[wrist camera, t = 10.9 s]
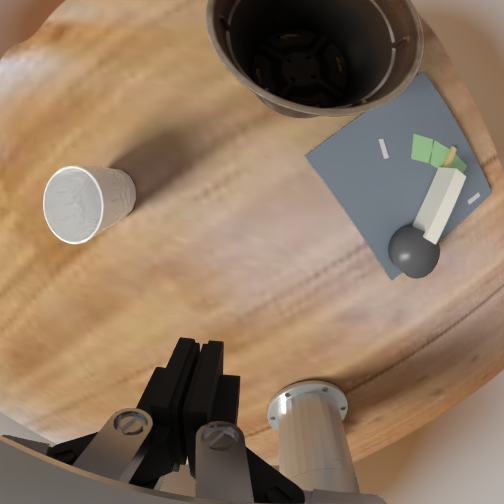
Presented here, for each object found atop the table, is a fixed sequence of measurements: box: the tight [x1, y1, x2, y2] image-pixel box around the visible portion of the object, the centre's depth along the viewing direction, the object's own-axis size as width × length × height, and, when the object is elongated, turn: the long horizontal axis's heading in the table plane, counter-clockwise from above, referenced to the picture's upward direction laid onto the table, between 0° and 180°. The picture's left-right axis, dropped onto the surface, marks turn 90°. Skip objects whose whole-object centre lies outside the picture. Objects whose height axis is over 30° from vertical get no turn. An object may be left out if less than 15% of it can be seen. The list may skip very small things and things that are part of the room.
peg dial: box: [388, 146, 466, 278], centre depth 33 cm, size 17×6×4 cm, turn 155°
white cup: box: [43, 166, 136, 244], centre depth 32 cm, size 8×8×10 cm
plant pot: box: [206, 0, 424, 118], centre depth 25 cm, size 16×16×16 cm
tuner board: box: [305, 72, 492, 280], centre depth 35 cm, size 19×20×1 cm
